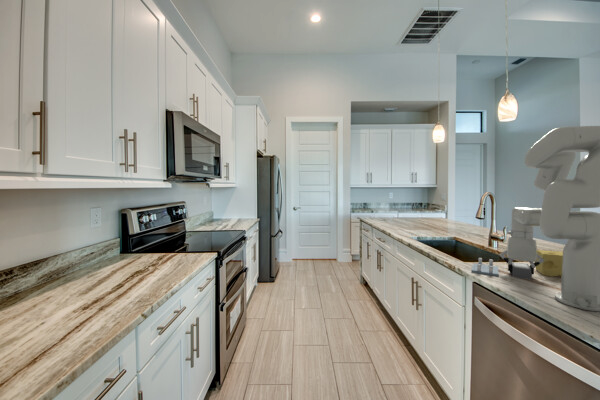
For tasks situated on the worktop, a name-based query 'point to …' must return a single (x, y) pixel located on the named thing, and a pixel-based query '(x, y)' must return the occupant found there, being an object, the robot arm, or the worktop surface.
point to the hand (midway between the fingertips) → (520, 273)
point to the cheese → (550, 263)
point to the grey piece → (485, 268)
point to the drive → (521, 271)
